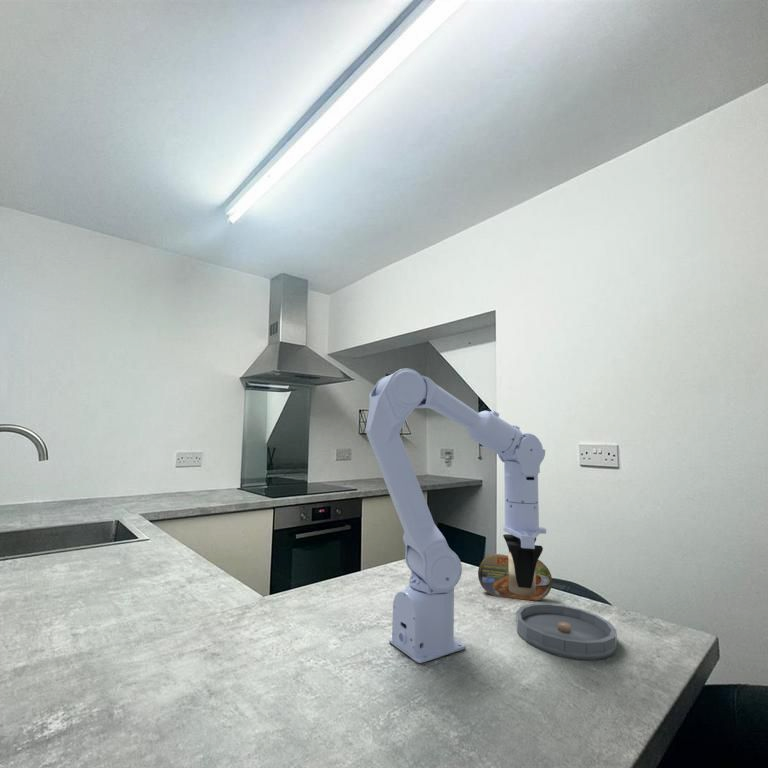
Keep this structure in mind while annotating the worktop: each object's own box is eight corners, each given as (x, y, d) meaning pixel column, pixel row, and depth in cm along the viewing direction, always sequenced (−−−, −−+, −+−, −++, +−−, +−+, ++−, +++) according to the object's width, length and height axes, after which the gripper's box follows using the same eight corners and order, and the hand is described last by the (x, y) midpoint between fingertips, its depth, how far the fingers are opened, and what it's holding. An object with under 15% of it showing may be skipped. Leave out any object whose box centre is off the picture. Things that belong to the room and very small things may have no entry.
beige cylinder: (524, 597, 69) (523, 559, 70) (503, 589, 73) (503, 553, 74) (541, 592, 72) (540, 556, 73) (519, 585, 75) (519, 550, 76)
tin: (477, 594, 90) (478, 553, 91) (478, 589, 93) (478, 549, 94) (552, 603, 86) (552, 560, 87) (550, 598, 89) (550, 557, 90)
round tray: (581, 670, 61) (580, 651, 61) (497, 628, 73) (497, 613, 74) (635, 645, 69) (634, 628, 69) (551, 611, 82) (551, 598, 82)
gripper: (553, 509, 67) (556, 599, 65) (537, 497, 81) (539, 571, 79) (507, 506, 68) (508, 595, 66) (499, 495, 82) (500, 568, 80)
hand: (522, 582), depth 73 cm, fingers closed on beige cylinder, 4 cm apart
